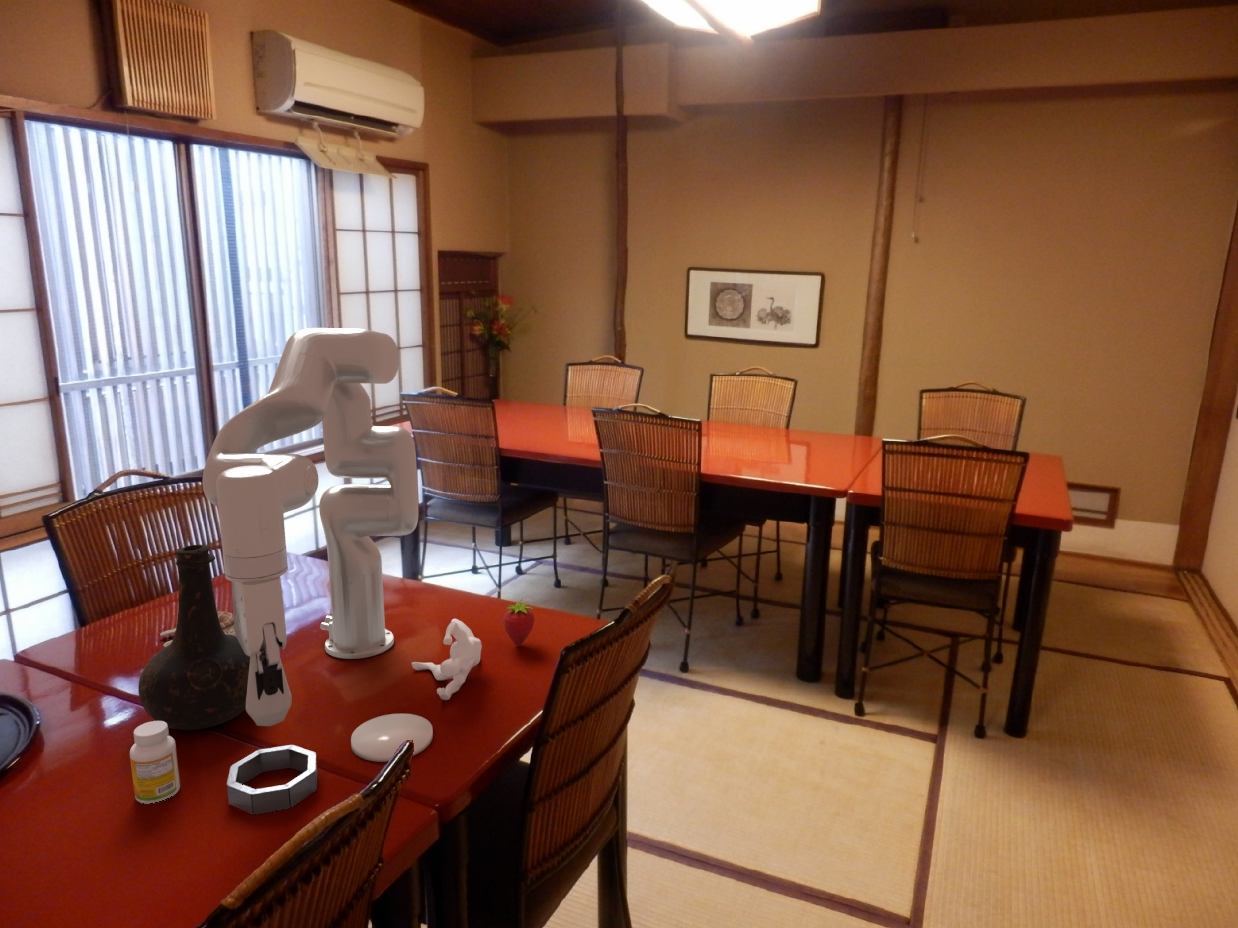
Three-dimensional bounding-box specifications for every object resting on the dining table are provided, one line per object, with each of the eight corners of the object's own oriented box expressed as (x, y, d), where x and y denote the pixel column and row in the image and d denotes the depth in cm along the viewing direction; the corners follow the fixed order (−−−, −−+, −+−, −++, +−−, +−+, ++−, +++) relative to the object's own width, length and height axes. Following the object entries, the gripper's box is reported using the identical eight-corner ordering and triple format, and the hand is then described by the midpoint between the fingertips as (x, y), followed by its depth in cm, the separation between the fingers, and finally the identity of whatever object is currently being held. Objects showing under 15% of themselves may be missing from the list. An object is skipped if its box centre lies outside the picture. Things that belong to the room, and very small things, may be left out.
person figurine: (415, 607, 149) (446, 626, 134) (481, 610, 156) (519, 628, 140) (405, 680, 149) (436, 707, 133) (472, 679, 155) (509, 705, 140)
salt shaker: (301, 717, 112) (293, 629, 109) (259, 734, 108) (251, 643, 105) (280, 702, 116) (272, 616, 113) (239, 718, 112) (230, 629, 109)
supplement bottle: (146, 781, 115) (139, 718, 113) (187, 780, 115) (180, 716, 113) (127, 805, 109) (119, 739, 107) (169, 804, 110) (162, 738, 108)
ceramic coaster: (333, 748, 123) (333, 742, 123) (388, 712, 134) (388, 706, 134) (396, 769, 118) (396, 763, 118) (448, 730, 129) (448, 724, 129)
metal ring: (212, 798, 111) (210, 778, 111) (277, 757, 121) (276, 738, 120) (270, 821, 107) (269, 801, 106) (334, 777, 116) (332, 758, 116)
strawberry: (535, 637, 163) (534, 589, 161) (534, 654, 156) (533, 604, 154) (505, 638, 163) (504, 590, 160) (502, 654, 155) (501, 604, 153)
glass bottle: (141, 757, 121) (119, 575, 115) (145, 702, 136) (125, 539, 130) (272, 728, 129) (258, 557, 123) (262, 680, 144) (249, 526, 138)
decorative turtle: (265, 644, 159) (263, 619, 158) (168, 665, 150) (165, 639, 149) (246, 613, 174) (244, 590, 173) (157, 630, 165) (154, 606, 164)
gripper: (213, 548, 111) (226, 673, 116) (236, 588, 98) (249, 727, 103) (272, 539, 116) (283, 660, 120) (302, 575, 102) (312, 710, 107)
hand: (267, 689), depth 111 cm, fingers closed on salt shaker, 3 cm apart
